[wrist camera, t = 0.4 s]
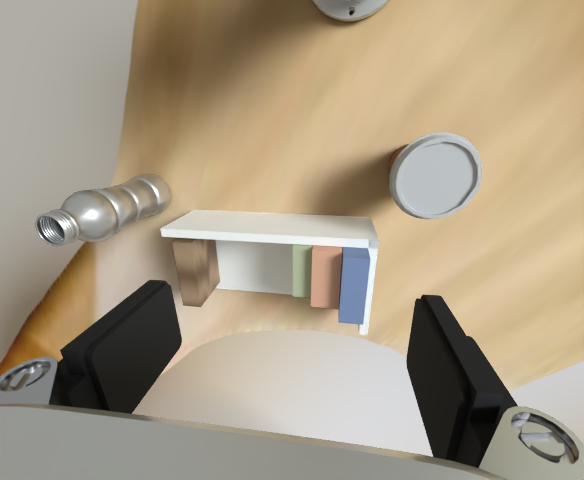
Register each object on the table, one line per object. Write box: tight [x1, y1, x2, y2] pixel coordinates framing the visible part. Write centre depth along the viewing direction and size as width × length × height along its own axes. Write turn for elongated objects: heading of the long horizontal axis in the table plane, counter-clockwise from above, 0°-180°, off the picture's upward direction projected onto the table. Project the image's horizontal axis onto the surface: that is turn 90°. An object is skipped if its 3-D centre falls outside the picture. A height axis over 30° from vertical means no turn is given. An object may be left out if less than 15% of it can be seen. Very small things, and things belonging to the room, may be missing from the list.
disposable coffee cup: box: [389, 132, 482, 219], centre depth 35 cm, size 10×10×12 cm
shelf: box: [160, 210, 379, 335], centre depth 44 cm, size 15×30×13 cm, turn 90°
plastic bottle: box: [35, 174, 171, 246], centre depth 39 cm, size 6×7×20 cm
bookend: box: [172, 238, 220, 307], centre depth 47 cm, size 11×3×8 cm, turn 0°
